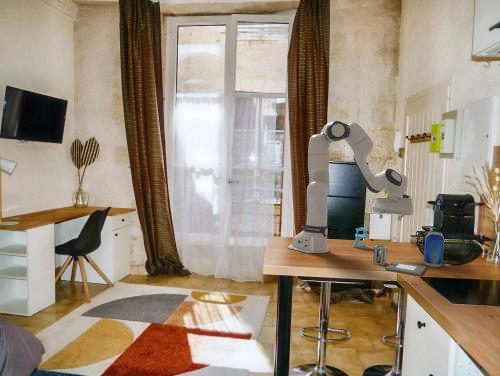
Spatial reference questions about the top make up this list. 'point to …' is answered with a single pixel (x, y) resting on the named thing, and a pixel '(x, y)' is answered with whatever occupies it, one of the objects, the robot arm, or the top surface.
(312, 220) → the robot arm
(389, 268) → the card
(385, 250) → the slotted cup
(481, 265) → the top surface
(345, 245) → the top surface
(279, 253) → the top surface
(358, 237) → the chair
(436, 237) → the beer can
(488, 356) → the top surface
